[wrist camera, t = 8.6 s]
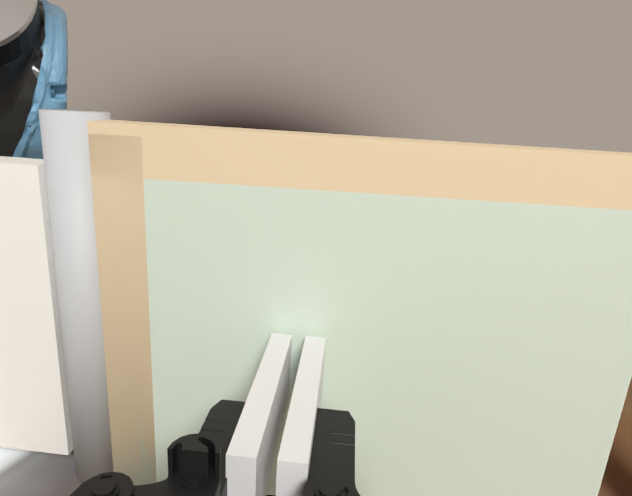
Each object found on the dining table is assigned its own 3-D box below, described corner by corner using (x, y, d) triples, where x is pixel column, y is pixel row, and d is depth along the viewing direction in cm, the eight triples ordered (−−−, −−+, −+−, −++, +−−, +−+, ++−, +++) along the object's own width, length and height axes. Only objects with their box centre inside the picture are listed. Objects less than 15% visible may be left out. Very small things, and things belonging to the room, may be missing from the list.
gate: (573, 489, 22) (662, 155, 17) (591, 517, 20) (693, 159, 16) (128, 458, 22) (107, 119, 17) (114, 483, 20) (87, 121, 16)
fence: (-167, 401, 26) (-252, 86, 21) (669, 495, 23) (784, 154, 18) (-243, 443, 23) (-362, 83, 18) (719, 559, 20) (875, 165, 15)
